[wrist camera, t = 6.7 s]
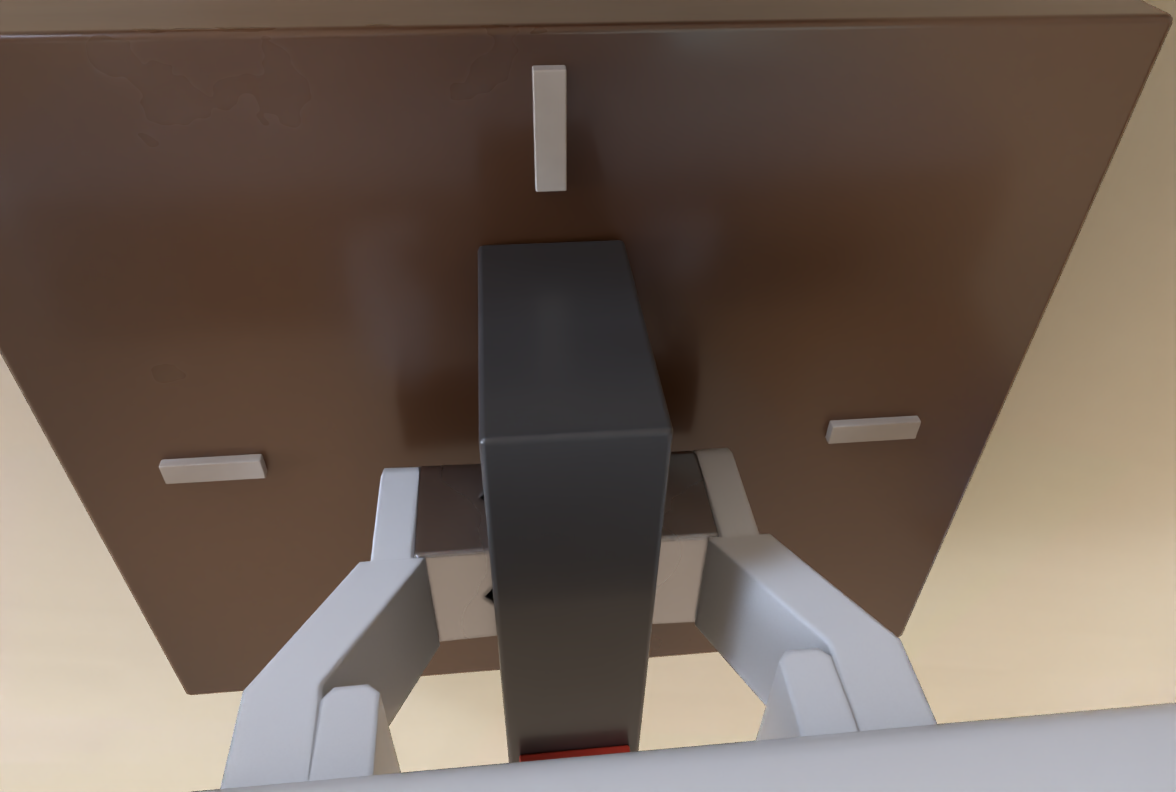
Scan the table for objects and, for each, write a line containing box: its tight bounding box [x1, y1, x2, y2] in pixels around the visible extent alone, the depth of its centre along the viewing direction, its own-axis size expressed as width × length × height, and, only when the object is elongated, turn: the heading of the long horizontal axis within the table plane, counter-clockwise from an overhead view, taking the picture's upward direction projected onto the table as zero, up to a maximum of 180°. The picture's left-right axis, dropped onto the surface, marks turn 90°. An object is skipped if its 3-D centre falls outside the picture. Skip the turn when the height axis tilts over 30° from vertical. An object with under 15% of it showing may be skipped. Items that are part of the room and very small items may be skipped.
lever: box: [478, 240, 673, 763], centre depth 11 cm, size 7×2×4 cm, turn 179°
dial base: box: [0, 0, 1172, 695], centre depth 14 cm, size 14×12×3 cm
